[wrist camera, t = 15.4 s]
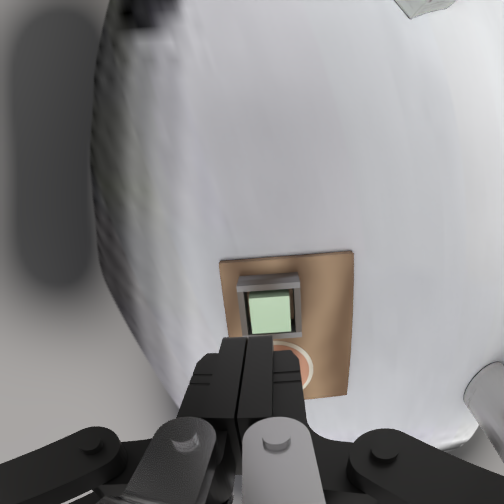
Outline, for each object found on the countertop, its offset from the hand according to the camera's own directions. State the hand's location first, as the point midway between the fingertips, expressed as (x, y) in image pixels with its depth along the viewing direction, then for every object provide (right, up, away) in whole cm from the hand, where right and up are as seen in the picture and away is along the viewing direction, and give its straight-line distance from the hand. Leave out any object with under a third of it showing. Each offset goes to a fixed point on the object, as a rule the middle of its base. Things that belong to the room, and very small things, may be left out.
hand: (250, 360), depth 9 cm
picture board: (+5, -6, +25) cm, 26 cm away
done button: (+2, -2, +22) cm, 22 cm away
